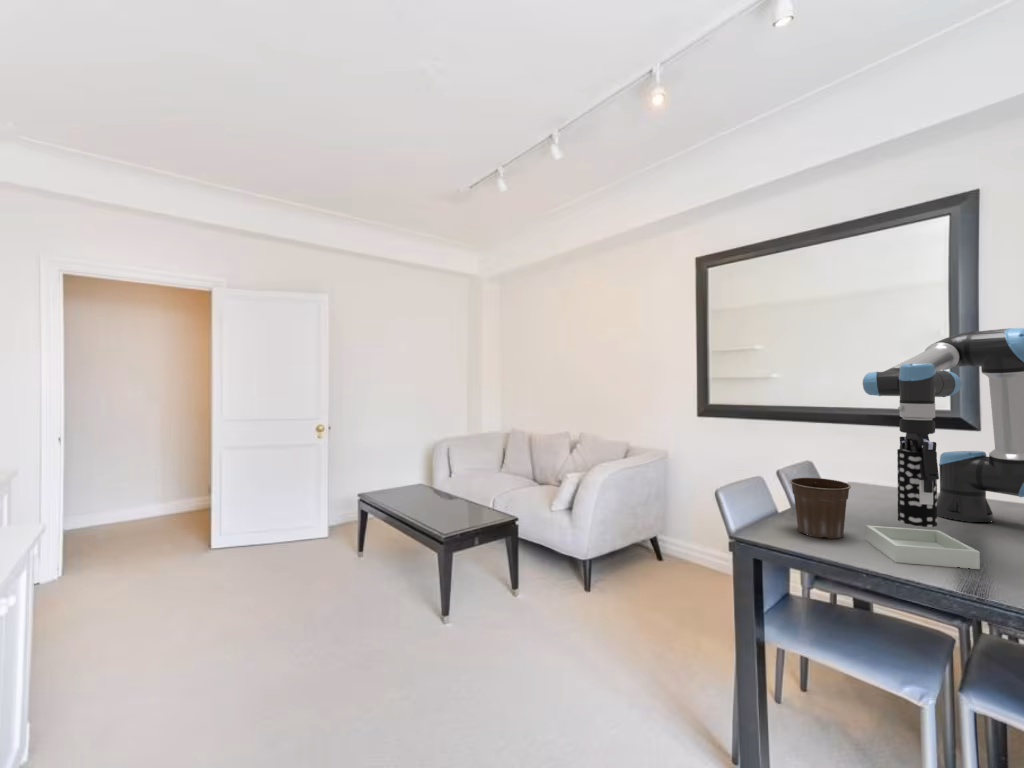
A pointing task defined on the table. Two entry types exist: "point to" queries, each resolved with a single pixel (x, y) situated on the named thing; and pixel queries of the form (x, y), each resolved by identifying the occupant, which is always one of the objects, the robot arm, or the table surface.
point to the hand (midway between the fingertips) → (917, 500)
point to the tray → (922, 547)
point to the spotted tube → (913, 491)
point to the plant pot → (820, 506)
